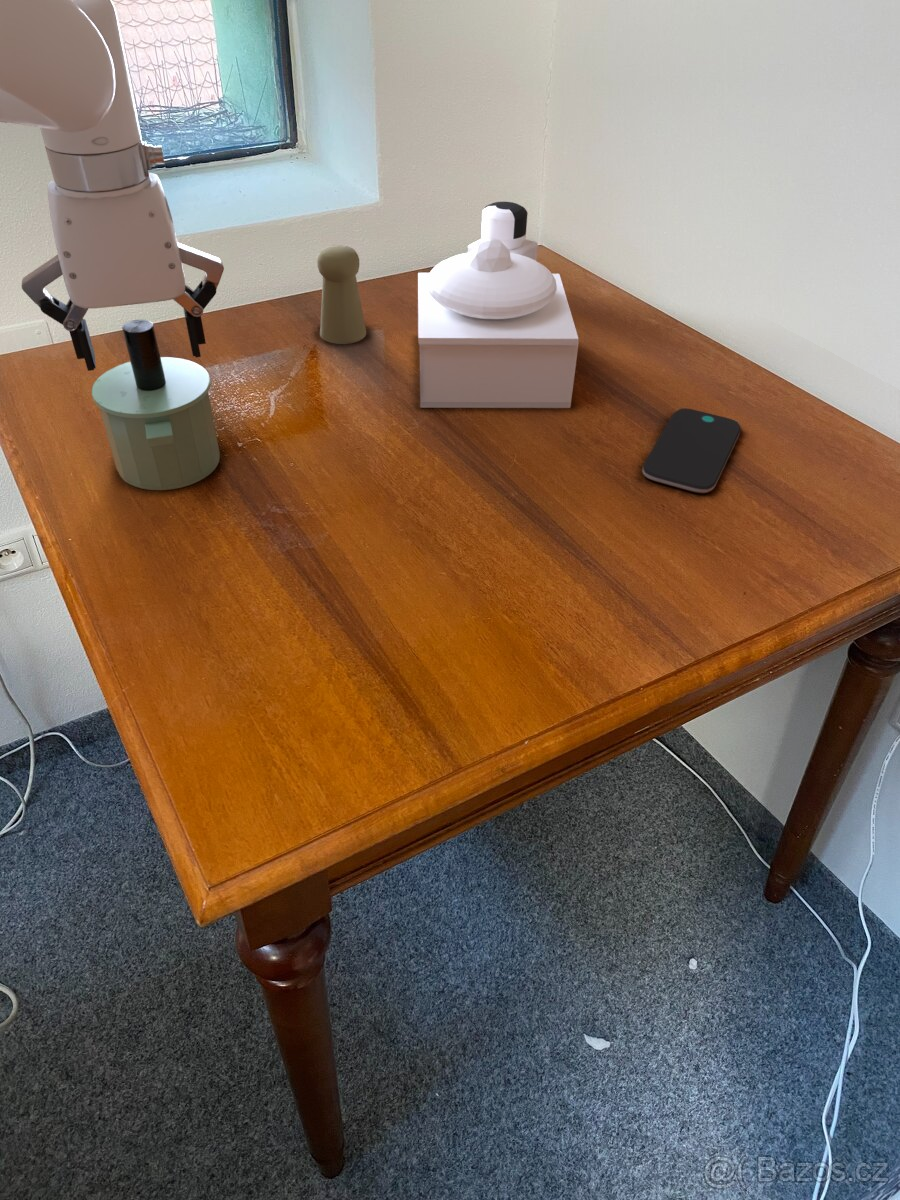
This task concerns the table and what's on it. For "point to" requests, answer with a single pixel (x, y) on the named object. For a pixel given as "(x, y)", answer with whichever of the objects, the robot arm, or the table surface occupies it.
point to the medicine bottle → (507, 228)
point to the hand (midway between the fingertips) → (144, 357)
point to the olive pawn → (340, 295)
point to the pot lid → (149, 379)
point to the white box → (494, 333)
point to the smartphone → (692, 450)
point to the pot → (164, 447)
